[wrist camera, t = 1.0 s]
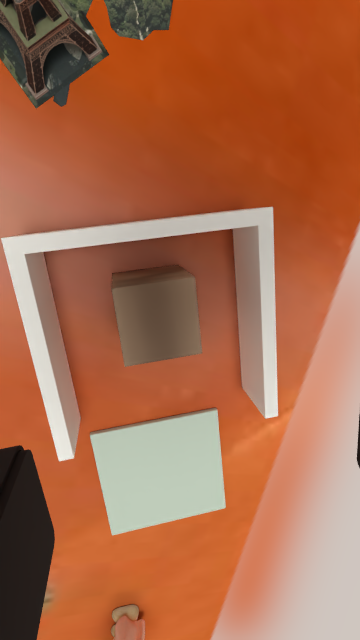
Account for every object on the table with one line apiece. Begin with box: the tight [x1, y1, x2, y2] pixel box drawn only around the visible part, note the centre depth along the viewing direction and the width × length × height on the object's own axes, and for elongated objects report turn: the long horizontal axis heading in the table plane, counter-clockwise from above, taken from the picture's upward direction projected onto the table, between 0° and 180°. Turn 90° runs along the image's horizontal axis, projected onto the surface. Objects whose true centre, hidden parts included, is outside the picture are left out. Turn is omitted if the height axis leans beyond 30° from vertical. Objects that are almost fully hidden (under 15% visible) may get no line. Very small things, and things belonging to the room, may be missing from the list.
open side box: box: [1, 207, 278, 461], centre depth 25 cm, size 16×15×5 cm
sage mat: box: [90, 408, 226, 535], centre depth 31 cm, size 11×11×1 cm
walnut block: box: [111, 265, 202, 367], centre depth 24 cm, size 5×5×6 cm
